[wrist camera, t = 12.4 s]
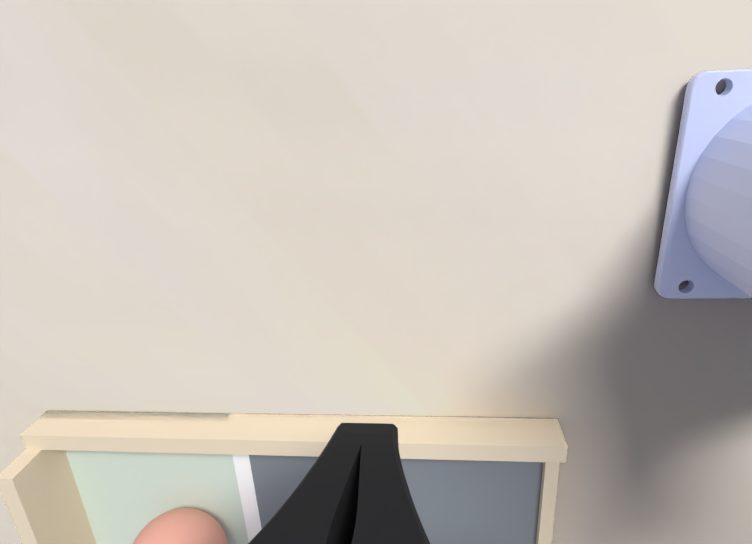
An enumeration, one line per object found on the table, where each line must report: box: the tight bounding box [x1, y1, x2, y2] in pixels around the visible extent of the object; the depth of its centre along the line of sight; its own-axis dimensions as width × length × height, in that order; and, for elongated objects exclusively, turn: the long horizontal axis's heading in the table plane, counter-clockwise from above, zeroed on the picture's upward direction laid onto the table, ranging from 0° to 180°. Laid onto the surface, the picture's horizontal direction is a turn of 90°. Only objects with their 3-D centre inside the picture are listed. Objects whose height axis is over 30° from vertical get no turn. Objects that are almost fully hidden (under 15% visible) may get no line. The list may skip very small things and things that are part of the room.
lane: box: [0, 411, 568, 544], centre depth 24 cm, size 24×11×4 cm, turn 93°
